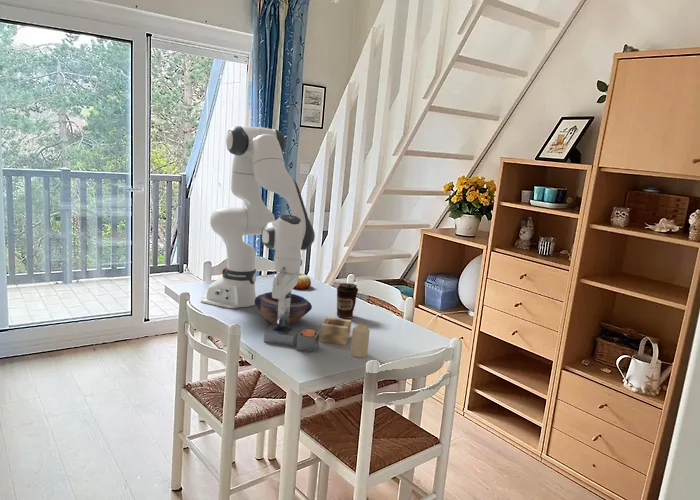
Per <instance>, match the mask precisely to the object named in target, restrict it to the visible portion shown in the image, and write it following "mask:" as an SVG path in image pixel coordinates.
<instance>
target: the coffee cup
mask: <svg viewBox="0 0 700 500" xmlns="http://www.w3.org/2000/svg"><path fill="white" fill-rule="evenodd" d="M357 286H358V285H357V284H355V283H351V282H350V283H346V282H345V283H339V284H338V286H337V288H336V311H337V312H336V316H337V318H340V319H353V317H354V314H353V313H354V310H355V306H356V302H357V295H358V293H359V288H358V287H357Z"/></svg>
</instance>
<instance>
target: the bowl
mask: <svg viewBox="0 0 700 500" xmlns="http://www.w3.org/2000/svg"><path fill="white" fill-rule="evenodd" d="M278 301H279V299H275V298H272V291H270V292H265V293H262V294H259V295H256V299H255V305H254V306H256V307H257V309H258V311H259V312H260V314H261V315H262V316H263V318H264V319H265V320H266V321H268V323H270V324H271V325H272V324H273V323H277V315H278ZM312 308H313V306H312V303H311V302H310V301H309V300H308V299H306V298H304V297H303V296H300V295H298V294H295V293H291V301H290V313H289V324H287V325H293V324H295V323H297V322H298V321H300V320H301V319H302V318H303V317H305V316H306V315H307V314H308V313H309V312H310V311H311V310H312Z"/></svg>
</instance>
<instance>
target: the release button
mask: <svg viewBox="0 0 700 500" xmlns="http://www.w3.org/2000/svg"><path fill="white" fill-rule="evenodd" d="M302 330H303V334H302V336H309V337H314V336H315V332H316V330H314V329H310V328H305V329H302Z"/></svg>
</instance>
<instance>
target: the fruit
mask: <svg viewBox="0 0 700 500" xmlns="http://www.w3.org/2000/svg"><path fill="white" fill-rule="evenodd" d="M311 286H312V281H311V278H310V277H309V276H308V275H306V274H305V273H300V272H299V279H298V283H297V285H296V286H295V287H294V288H293V289H295V290H307V289H309V288H310V287H311Z"/></svg>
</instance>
